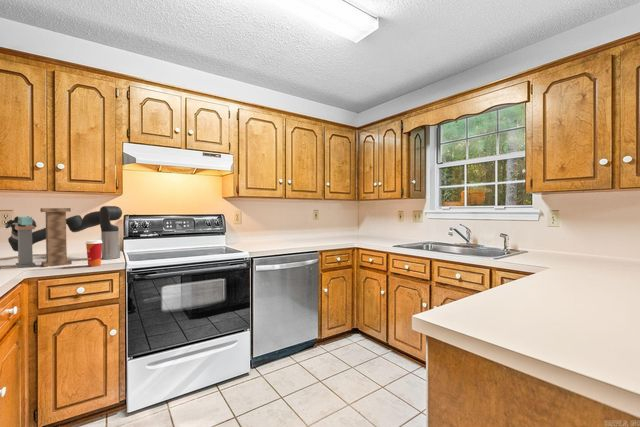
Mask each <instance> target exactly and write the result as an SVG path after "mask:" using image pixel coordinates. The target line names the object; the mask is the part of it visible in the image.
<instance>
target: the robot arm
mask: <svg viewBox="0 0 640 427" xmlns="http://www.w3.org/2000/svg"><path fill="white" fill-rule="evenodd" d="M122 216H123V210H122V209H121V208H120V207H119V206H117V205H116V206H115V205H103V206H101V207H100V208H99V210H98V211H91V212H89V213H86V214H84V216H83V217H82V216H81V215H79V214H77V215H72V216H69V217H66V226H67V227H68V229H69V230H70V232H72V233H79V232H81V231H84V230H87V229H88V228H94V227H97V226H99V227H100V232H101V237H100V240H102V242H103V243H102V250H101V260H111V259H112V260H113V259H120V258H121V243H120V241H119V240H120V237H119V236H120V235H119V232H120V231H119V226H117V225H114V224H112V223H111V222H112V221H118V220H120V219H121V217H122ZM18 217H19V215H18V216H15V217H14V219H9V220H8V221H7V222H6V223H5V226H4V227H5V229H9V228H11V232H10V234H11V235H10V237H8V239H7V241H8V243H9V245H10V247H11V249H12V251H14V252H17V253H18V230H16V229H15V226H35V228H37V222H36V221H35V220H34V219H33V218H32V225H20V224H17V223H18ZM27 217H30V216H29V215H27ZM44 240H46V227H44V228H41V229H39V230H36V231H32V246H33V245H35V244H36V243H39V242H43V241H44Z"/></svg>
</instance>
